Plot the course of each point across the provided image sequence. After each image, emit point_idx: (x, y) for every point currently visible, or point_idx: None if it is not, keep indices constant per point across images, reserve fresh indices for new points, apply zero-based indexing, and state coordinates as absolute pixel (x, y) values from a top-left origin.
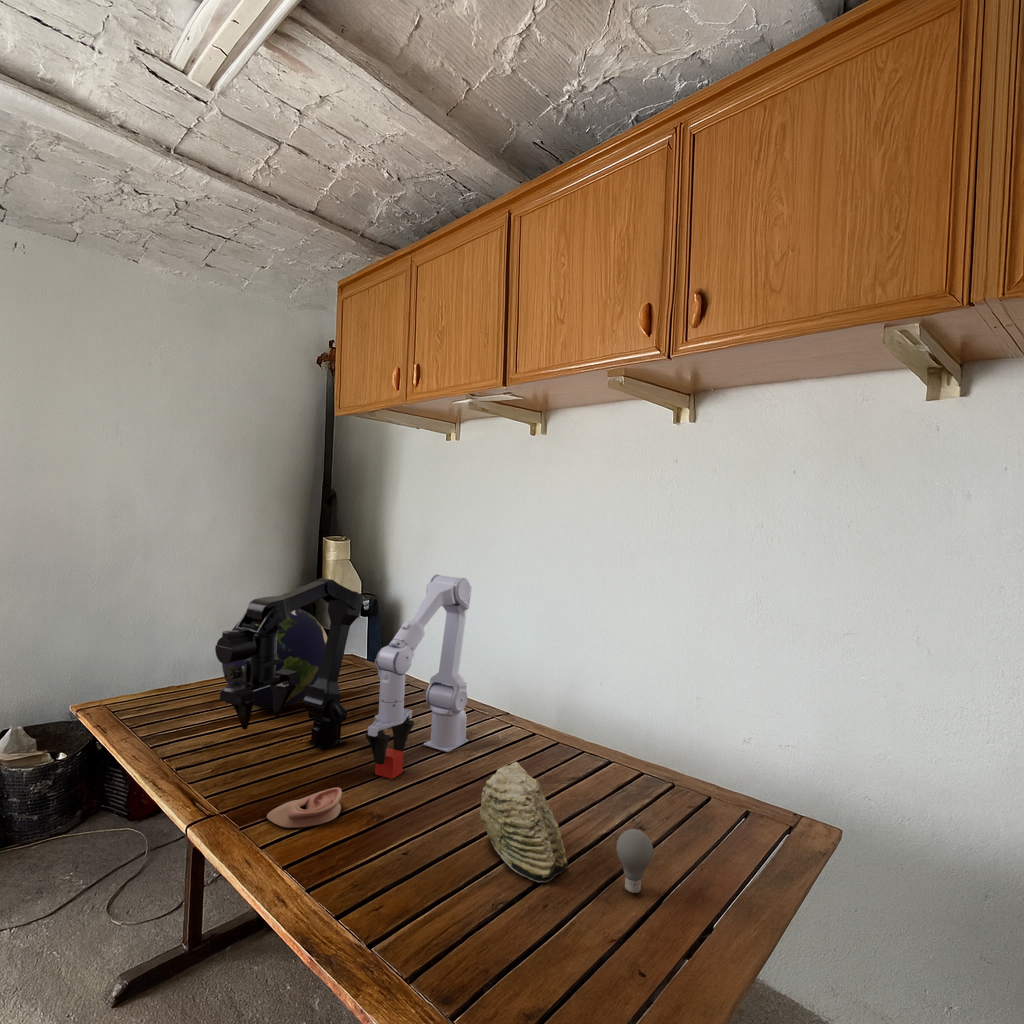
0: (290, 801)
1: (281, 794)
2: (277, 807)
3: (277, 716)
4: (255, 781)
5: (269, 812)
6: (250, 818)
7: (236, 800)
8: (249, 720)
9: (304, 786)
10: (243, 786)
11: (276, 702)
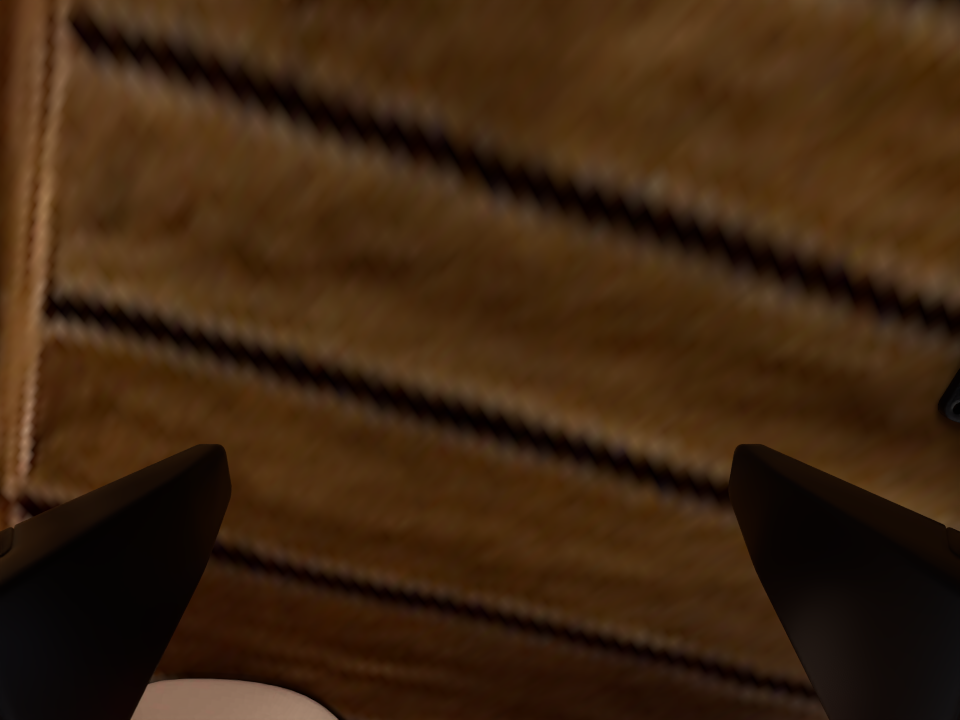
0: (263, 718)
1: (334, 594)
2: (187, 712)
3: (735, 503)
4: (362, 386)
5: (148, 698)
6: None
7: None
8: (178, 617)
9: (461, 623)
10: (276, 377)
11: (849, 600)
